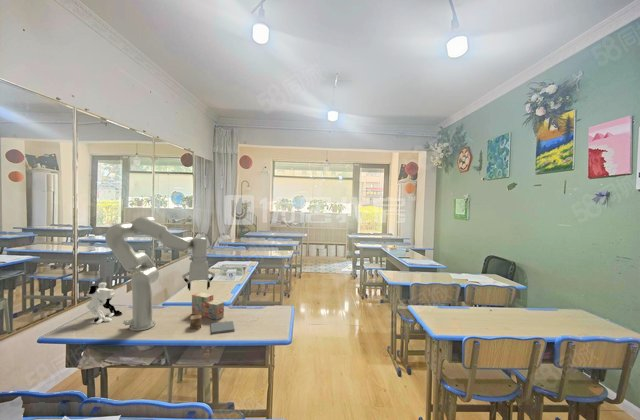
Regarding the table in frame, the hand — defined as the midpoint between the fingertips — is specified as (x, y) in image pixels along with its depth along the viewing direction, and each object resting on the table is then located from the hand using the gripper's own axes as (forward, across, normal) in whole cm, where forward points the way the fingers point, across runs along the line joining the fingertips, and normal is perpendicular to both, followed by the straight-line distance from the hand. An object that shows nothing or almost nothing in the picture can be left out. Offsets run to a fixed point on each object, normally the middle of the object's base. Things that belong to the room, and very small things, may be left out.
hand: (198, 289), depth 170 cm
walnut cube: (+21, -1, -1) cm, 21 cm away
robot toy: (+22, -54, +28) cm, 64 cm away
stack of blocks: (+21, +5, +15) cm, 26 cm away
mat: (+21, +13, -8) cm, 26 cm away
